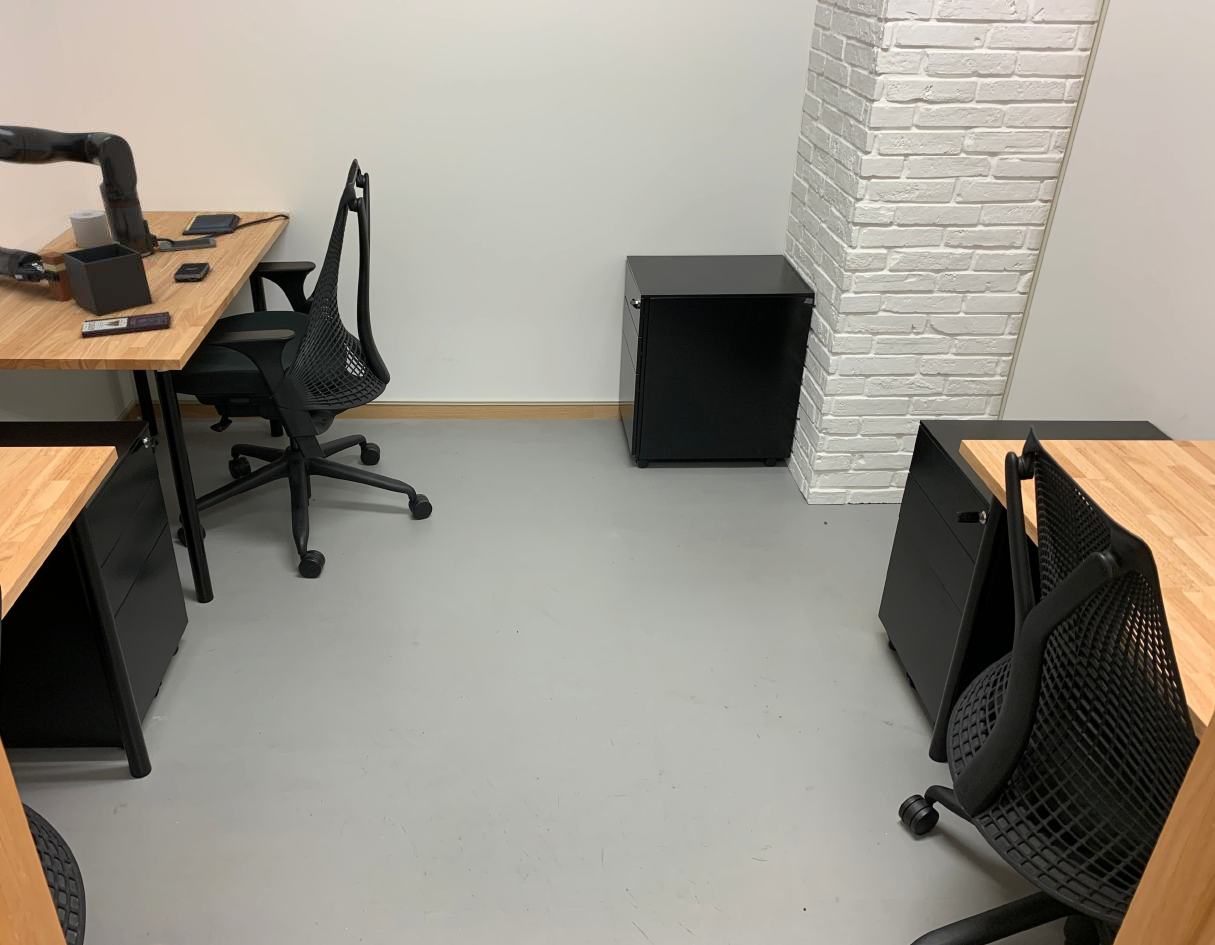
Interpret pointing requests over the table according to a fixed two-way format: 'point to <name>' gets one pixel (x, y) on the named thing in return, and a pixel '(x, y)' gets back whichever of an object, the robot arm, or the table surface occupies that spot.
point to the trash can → (107, 278)
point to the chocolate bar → (125, 324)
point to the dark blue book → (211, 224)
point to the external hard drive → (191, 272)
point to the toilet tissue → (90, 229)
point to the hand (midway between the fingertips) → (65, 275)
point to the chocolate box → (62, 287)
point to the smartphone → (187, 244)
